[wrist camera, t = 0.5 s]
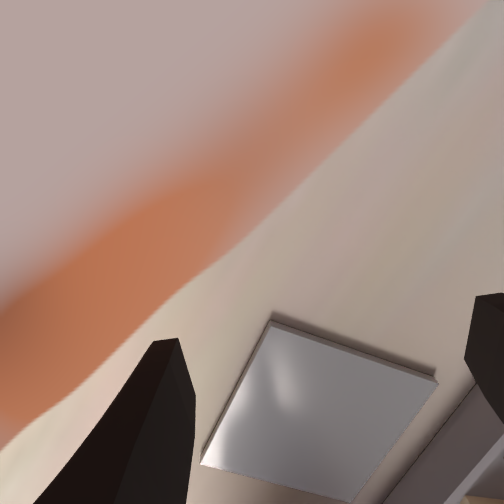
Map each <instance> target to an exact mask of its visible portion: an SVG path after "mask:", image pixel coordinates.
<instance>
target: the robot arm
mask: <svg viewBox="0 0 504 504" xmlns="http://www.w3.org/2000/svg"><path fill="white" fill-rule="evenodd" d="M464 360H465V362H466V364H467V366H468V367H469V369H470V371H471V373H472V375H473V377H474V379H475V381H476V383H477V384H478V386H479V388H480V390H481V392H482V393H483V395H484V397H485V399H486V400H487V401H488V403H489V404H490V406H491V407H492V409H493V410H494V412H495V413H496V414H497V416H498V417H499V419H500V420H501V421H502V423H503V424H504V293H495V294H488V295H481V296H476V298H475V304H474V309H473V314H472V319H471V325H470V330H469V335H468V340H467V346H466V351H465V356H464ZM195 408H196V395H195V391H194V388H193V385H192V382H191V378H190V375H189V372H188V369H187V365H186V362H185V359H184V356H183V352H182V349H181V346H180V342H179V339H178V338H173V339H166V340H159V341H153V342H152V344H151V345H150V346H149V348H148V349H147V351H146V352H145V354H144V355H143V357H142V359H141V360H140V362H139V363H138V365H137V366H136V368H135V369H134V371H133V372H132V374H131V375H130V377H129V378H128V380H127V381H126V383H125V384H124V386H123V387H122V389H121V390H120V392H119V393H118V395H117V396H116V398H115V399H114V400H113V402H112V403H111V405H110V406H109V408H108V409H107V410H106V412H105V413H104V415H103V416H102V418H101V419H100V420H99V422H98V423H97V425H96V426H95V427H94V429H93V430H92V431H91V432H90V434H89V435H88V436H87V438H86V439H85V440H84V442H83V443H82V444H81V446H80V447H79V448H78V450H77V451H76V452H75V453H74V455H73V456H72V457H71V459H70V460H69V461H68V463H67V464H66V465H65V466H64V467H63V469H62V470H61V471H60V472H59V474H58V475H57V476H56V477H55V479H54V480H53V481H52V482H51V483H50V484H49V486H48V487H47V488H46V489H45V490H44V492H43V493H42V494H41V495H40V496H39V497H38V498H37V500H36V501H35V502H34V503H33V504H186V499H187V492H188V484H189V477H190V470H191V462H192V455H193V447H194V439H195Z"/></svg>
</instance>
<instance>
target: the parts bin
mask: <svg viewBox="0 0 504 504" xmlns="http://www.w3.org/2000/svg"><path fill="white" fill-rule="evenodd" d="M503 457H504V424H503V423H502V421H501V420H500V419H499V417H498V416H497V414H496V413H495V412H494V410H493V409H492V407H491V406H490V404H489V403H488V401H487V400H486V399H485V397H484V395H483V393H482V392H481V390H480V388H479V386H478V384H477V383H476V385H475V386H474V387H473V389H472V390H471V391H470V392H469V394H468V395H467V396H466V397H465V399H464V400H463V401H462V403H461V404H460V405H459V406H458V408H457V409H456V410H455V412H454V413H453V414H452V415H451V417H450V418H449V419H448V420H447V422H446V423H445V424H444V426H443V427H442V428H441V429H440V431H439V432H438V433H437V435H436V436H435V437H434V438H433V440H432V441H431V442H430V443H429V445H428V446H427V447H426V449H425V450H424V451H423V452H422V454H421V455H420V456H419V457H418V459H417V460H416V461H415V463H414V464H413V465H412V466H411V468H410V469H409V470H408V472H407V473H406V474H405V475H404V477H403V478H402V479H401V480H400V482H399V483H398V484H397V486H396V487H395V488H394V489H393V491H392V492H391V493H390V495H389V496H388V497H387V498H386V500H385V501H384V502H383V503H382V504H460V502H461V500H462V499H463V497H464V496H465V495H468V496H476V497H484V498H492V499H500V500H504V458H503Z"/></svg>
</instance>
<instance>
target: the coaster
mask: <svg viewBox="0 0 504 504" xmlns="http://www.w3.org/2000/svg"><path fill="white" fill-rule="evenodd" d="M438 385H439V383H438V382H437V380H436V379H435V378H434V377H432V376H429V375H426V374H424V373H421V372H418V371H415V370H412V369H409V368H406V367H403V366H401V365H398V364H395V363H392V362H389V361H386V360H383V359H380V358H377V357H375V356H372V355H369V354H366V353H363V352H360V351H357V350H354V349H352V348H349V347H346V346H343V345H340V344H337V343H334V342H331V341H329V340H326V339H323V338H320V337H317V336H314V335H311V334H308V333H305V332H303V331H300V330H297V329H294V328H291V327H288V326H285V325H282V324H280V323H277V322H274V321H271V320H270V321H269V323H268V325H267V327H266V329H265V331H264V333H263V335H262V337H261V339H260V341H259V343H258V345H257V347H256V348H255V350H254V352H253V354H252V356H251V358H250V360H249V362H248V364H247V366H246V368H245V370H244V372H243V374H242V376H241V378H240V380H239V382H238V384H237V386H236V388H235V390H234V392H233V394H232V396H231V398H230V399H229V401H228V403H227V405H226V407H225V409H224V411H223V413H222V415H221V417H220V419H219V421H218V423H217V425H216V427H215V429H214V431H213V433H212V435H211V437H210V439H209V441H208V443H207V445H206V447H205V448H204V450H203V452H202V454H201V458H200V464H201V465H205V466H209V467H213V468H216V469H220V470H224V471H228V472H232V473H236V474H240V475H243V476H247V477H251V478H255V479H259V480H263V481H267V482H270V483H274V484H278V485H282V486H286V487H290V488H294V489H297V490H301V491H305V492H309V493H313V494H317V495H321V496H324V497H328V498H332V499H336V500H340V501H344V502H348V503H351V502H352V501H353V499H354V498H355V497H356V495H357V494H358V493H359V491H360V490H361V489H362V487H363V486H364V485H365V483H366V482H367V481H368V479H369V478H370V477H371V475H372V474H373V472H374V471H375V470H376V468H377V467H378V466H379V464H380V463H381V462H382V460H383V459H384V458H385V456H386V455H387V454H388V452H389V451H390V450H391V448H392V447H393V445H394V444H395V443H396V441H397V440H398V439H399V437H400V436H401V435H402V433H403V432H404V431H405V429H406V428H407V427H408V425H409V424H410V423H411V421H412V420H413V418H414V417H415V416H416V414H417V413H418V412H419V410H420V409H421V408H422V406H423V405H424V404H425V402H426V401H427V400H428V398H429V397H430V396H431V394H432V393H433V391H434V390H435V389H436V387H437V386H438Z"/></svg>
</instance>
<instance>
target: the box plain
mask: <svg viewBox="0 0 504 504" xmlns="http://www.w3.org/2000/svg"><path fill="white" fill-rule="evenodd" d="M460 504H504V500H500V499H492V498H484V497H476V496H468V495H465V496H464V497H463V499H462V500H461V502H460Z"/></svg>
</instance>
